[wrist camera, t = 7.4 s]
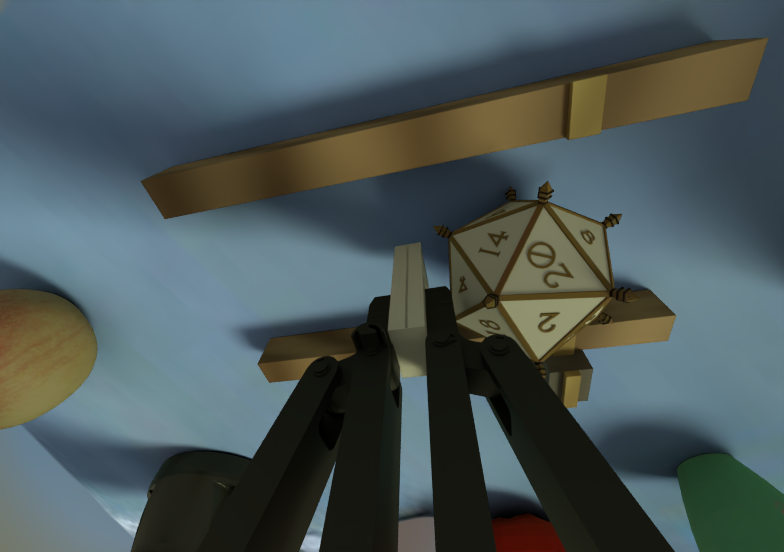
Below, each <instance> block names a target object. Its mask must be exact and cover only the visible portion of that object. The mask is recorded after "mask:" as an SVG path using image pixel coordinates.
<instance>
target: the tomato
mask: <svg viewBox="0 0 784 552" xmlns="http://www.w3.org/2000/svg"><path fill="white" fill-rule="evenodd" d="M491 521H492V527H493V532H494V538H495V544H496V549H497V552H566V550H565V548H564V546H563V545H562V543H561V541H560V539H559V537H558V535H557V533H556V531H555V529H554V527H553V525H552V524H551V522H548V521H545V520H543V519H540V518H538V517H536V516H534V515H531V514H529V513H527V514H522V515H517V516H514V517H512V518H510V519H507V518H500V517H499V518H496V519H493V520H491Z"/></svg>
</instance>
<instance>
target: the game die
mask: <svg viewBox="0 0 784 552" xmlns="http://www.w3.org/2000/svg"><path fill="white" fill-rule="evenodd" d="M552 192H554V190H553V189H552V188H551V186H550V184H549V182H548V181H547V182H546V183H545V184H543V185H542V186H541V187H539V191H538V197H537V198H539V200H515V199H516V198H517V197H516V190H514V189H513V188H511V187H510V188H509V189H508V191H507V193H506V194H505V195H506V196H507V197H506V199H508V201H509V202H507V203H505V204H503V205H502V206H500V207H498V208H496V209H494V210H492V211H490V212H489V213H487V214H485V215H483V216H481V217H479V218H477V219H476V220H474V221H472V222H470V223H468V224H466V225H464V226H463V227H461V228H459V229H457V230H455V231H453V232H450V231H449V230H448V227H447V228H446V227H444V225H442V226H433V227H434V229H435V230H436V232H437V233H438V234H437V235H441V236H442V237H447V238H448V245H449V273H450V291H451V293H452V299H453V305H454V311H455V317H456V322H457V324H458V325H460V326H462V327H464V328H466V329H468V330H470V331H472V332H474V333H476V334H478V335H480V336H482V337H484V338H486V337H488V336H490V335H496V334H501V335H506V336H509V337H511V338H513V339H514V340H515V341H516V342H517V343H518V345H519V346H520V347H521V349H522V350H523V351H524V352H525V354H526V355H527V356H528V358H529V359H530V360H531V361H532V362H534V364H535V367H536V368H537V370H538V371H539V372H540V374H541V375H542V376H543V378H544V379H545V377H546V375H547V374H546V372H545V370H546V368H544V366H543V362H544V361H545V360H546V359H547V358H548V357H550V356H551V355H552V354H553V353H555V352H556V351H557V350H558V349H559V348H561V347H562V346H563V345H564V344H566V343H567V342H568V341H569V340H570V339H572V338H573V337H574V336H575V335H577V334H578V333H579V332H580V331H581V330H583V329H584V328H585V327H586V326H588V325H589V324H590V323H591V322H592V321H594V320H595V319H597V320H598V322H601V323H602V325H605V324H612V323H613V321H612V319H611V318H612V317H611V316H609V315H608V314H605V313H604V312H602V311H603V310H604V308H605V307H606V306H607V304H608V303H609V302H610V300H611V299H612V298H615V299H616V300H617V301H622V302H625V303H630V302H631V301H634V300H638V299H640V298H639V297H638V296H637V295H636V294H634V293H633V292H632V291H631V288H628V289H624V287H621V288H620V289H615V287H614V280H613V273H612V267H611V260H610V253H609V247H608V240H607V233H606V229H607V228H608V227H614V225H615V224H619V220H620V218H621V216H622V214H610V216H609V217H605V220H604V221H603V222H598V221H596V220H593V219H591V218H588V217H586V216H583V215H581V214H578V213H576V212H573V211H570V210H568V209H565V208H563V207H560V206H558V205H555V204H553V203H550V202H548V200H549V198H551V197H552V195H551V194H552ZM601 312H602V313H601Z"/></svg>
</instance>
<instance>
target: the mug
mask: <svg viewBox="0 0 784 552" xmlns="http://www.w3.org/2000/svg"><path fill="white" fill-rule="evenodd" d="M677 475H678V480H679V485H680V489H681V494H682V499H683V502H684V506H685V509H686V513H687V516H688V519H689V523H690V526H691V530H692V533H693V535H694V538H695V541H696V543H697V546H698V549H699V551H700V552H784V494H782V493H781V492H780V491H779V490H777V489H776V488H775V487H774V486H772V485H771V484H770V483H768V482H767V481H766V480H764V479H763V478H762V477H760V476H759V475H757V474H756V473H755V472H753V471H752V470H750V469H749V468H748V467H746V466H745V465H743V464H742V463H741V462H739V461H738V460H736V459H735V458H733V457H732V456H731V455H727V454H723V453H710V454H703V455H699V456H695V457H692V458H690V459H688V460H686V461H684V462H682V463H681V464H680V465H679V466H678V468H677Z"/></svg>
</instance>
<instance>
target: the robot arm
mask: <svg viewBox="0 0 784 552" xmlns="http://www.w3.org/2000/svg"><path fill="white" fill-rule="evenodd" d="M367 319H368V320H367V323H364V324H362V325H360V326H358V327H357V328H356V329H355V330H354V331H353V332H352V334H351V338H352V340H353V343H354V346H355V348H356V353H355V354H353V355H352V356H350V357H348V358H345V359H342V360H340V361H337V360H336V359H335V358H334V357H331V356H323V357H320V358H318V359H316V360H315V361H313V362H312V363H311V364H310V365H309V366H308V367H307V369H306V371H305V372H304V374H303V376H302V377H301V379H300V381H299V382H298V384H297V386H296V387H295V389H294V391H293V392H292V394H291V396H290V397H289V399H288V401H287V402H286V404H285V405H284V407H283V409H282V410H281V412H280V414H279V415H278V417H277V419H276V420H275V422H274V424H273V425H272V427H271V429H270V430H269V432H268V434H267V435H266V437H265V439H264V440H263V442H262V444H261V445H260V447H259V449H258V450H257V452H256V453H255V455H254V457H253V458H252V460H248V459H245V458H242V457H238V456H234V455H229V454H224V453H217V452H187V453H182V454H178V455H175V456H172V457H170V458H169V459H167V460H166V461H165V462H164V463H163V464H162V466H161V467H160V469H159V471H158V472H157V474H156V476H155V477H154V479H153V481H152V482H151V484H150V487H149V490H148V493H147V498H148V501H147V504H146V506H145V508H144V511H143V514H142V517H141V519H140V523H139V526H138V529H137V532H136V535H135V539H134V542H133V546H132V549H131V552H299V550H300V547H301V545H302V543H303V540H304V538H305V535H306V533H307V530H308V528H309V525H310V523H311V520H312V518H313V516H314V513H315V511H316V508H317V506H318V503H319V501H320V498H321V496H322V493H323V491H324V489H325V486H326V484H327V481H328V479H329V476H330V474H331V471H332V469H333V466H334V464H335V462H336V464H335V469H334V474H333V480H332V485H331V490H330V496H329V501H328V506H327V512H326V517H325V523H324V528H323V533H322V539H321V544H320V549H319V552H398V521H399V486H400V450H401V415H402V386H401V382H400V372H401V375H402V378H407V377H416V376H426V375H427V390H428V410H429V429H430V449H431V468H432V488H433V507H434V526H435V546H436V552H497V549H496V544H495V538H494V532H493V527H492V521H491V515H490V509H489V504H488V498H487V492H486V487H485V481H484V475H483V469H482V464H481V458H480V452H479V446H478V441H477V435H476V429H475V424H474V418H473V412H472V406H471V401H470V395H469V394H474V395H479V396H484V397H486V400H487V401H488V403H489V405H490V407H491V409H492V411H493V413H494V415H495V417H496V419H497V421H498V422H499V424H500V426H501V428H502V430H503V432H504V434H505V436H506V438H507V440H508V442H509V443H510V445H511V447H512V449H513V451H514V453H515V455H516V457H517V459H518V461H519V463H520V464H521V466H522V468H523V470H524V472H525V474H526V476H527V478H528V480H529V482H530V484H531V485H532V487H533V489H534V491H535V493H536V495H537V497H538V499H539V501H540V503H541V504H542V506H543V508H544V510H545V512H546V514H547V516H548V518H549V520H550V522H551V524H552V525H553V527H554V529H555V531H556V533H557V535H558V537H559V539H560V541H561V543H562V545H563V546H564V548H565V550H566V552H675V551H674V550H673V549H672V547H671V546H670V545H669V543H668V542H667V541H666V539H665V538H664V537H663V535H662V534H661V533H660V531H659V530H658V529H657V527H656V526H655V525H654V523H653V522H652V521H651V519H650V518H649V517H648V515H647V514H646V513H645V511H644V510H643V509H642V508H641V506H640V505H639V504H638V502H637V501H636V500H635V498H634V497H633V496H632V494H631V493H630V492H629V490H628V489H627V488H626V486H625V485H624V484H623V482H622V481H621V480H620V478H619V477H618V476H617V474H616V473H615V472H614V470H613V469H612V468H611V466H610V465H609V464H608V462H607V461H606V460H605V458H604V457H603V456H602V455H601V453H600V452H599V451H598V449H597V448H596V447H595V445H594V444H593V443H592V441H591V440H590V439H589V437H588V436H587V435H586V433H585V432H584V431H583V429H582V428H581V427H580V425H579V424H578V423H577V421H576V420H575V419H574V417H573V416H572V415H571V413H570V412H569V411H568V409H567V408H566V407H565V405H564V404H563V403H562V402H561V400H560V399H559V398H558V396H557V395H556V394H555V392H554V391H553V390H552V388H551V387H550V386H549V384H548V383H547V382H546V380H545V379H544V378H543V376H542V375H541V374H540V372H539V371H538V370H537V368H536V367H535V366H534V364H533V363H532V362H531V360H530V359H529V358H528V356H527V355H526V354H525V352H524V351H523V350H522V349H521V347H520V346H519V345H518V343H517V342H516V341H515V340H514V339H513V338H511V337H509V336H506V335H501V334H496V335H490V336H488V337H486V338H485V339H484V340H483V341H482V342H476V341H471V340H468V339H466V338H464V337H463V336H462V335H461V334H460V333H459V331H458V328H457V322H456V317H455V311H454V305H453V299H452V293H451V291H450V290H449V289H448V288H447V287H446V286H443V287H436V288H429V284H428V278H427V273H426V268H425V263H424V258H423V253H422V248H421V243H420V242H419V243H413V244H407V245H401V246H396V247H395V251H394V263H393V275H392V286H391V295H387V296H380V297H375V298H374V299H373V301H372V302H371V303H370V306H369V314H368V318H367Z"/></svg>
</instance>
